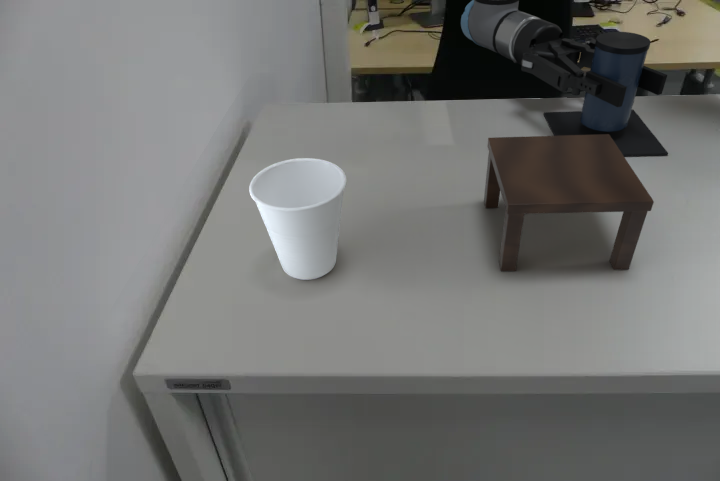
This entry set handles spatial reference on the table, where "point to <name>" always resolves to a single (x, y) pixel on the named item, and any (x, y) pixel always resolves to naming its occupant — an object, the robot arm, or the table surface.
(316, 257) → the cup
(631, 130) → the mat
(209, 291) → the table surface
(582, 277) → the table surface
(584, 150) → the small brown wooden table
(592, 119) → the blue lidded tin
